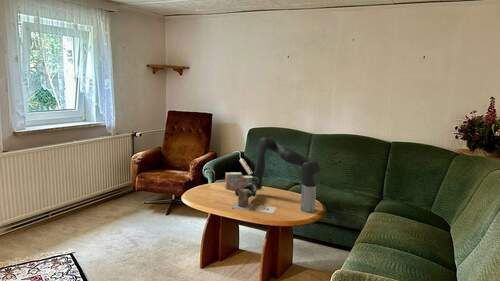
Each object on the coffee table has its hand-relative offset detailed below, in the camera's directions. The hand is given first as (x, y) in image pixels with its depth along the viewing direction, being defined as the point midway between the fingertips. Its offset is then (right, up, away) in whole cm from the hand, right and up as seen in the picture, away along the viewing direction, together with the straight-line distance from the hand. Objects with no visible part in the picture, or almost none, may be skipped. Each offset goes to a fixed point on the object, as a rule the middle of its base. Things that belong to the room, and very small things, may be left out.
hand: (242, 195), depth 247 cm
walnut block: (0, -7, +3) cm, 8 cm away
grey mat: (0, -8, +3) cm, 9 cm away
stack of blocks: (-4, -1, +48) cm, 48 cm away
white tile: (+16, -9, -1) cm, 18 cm away
